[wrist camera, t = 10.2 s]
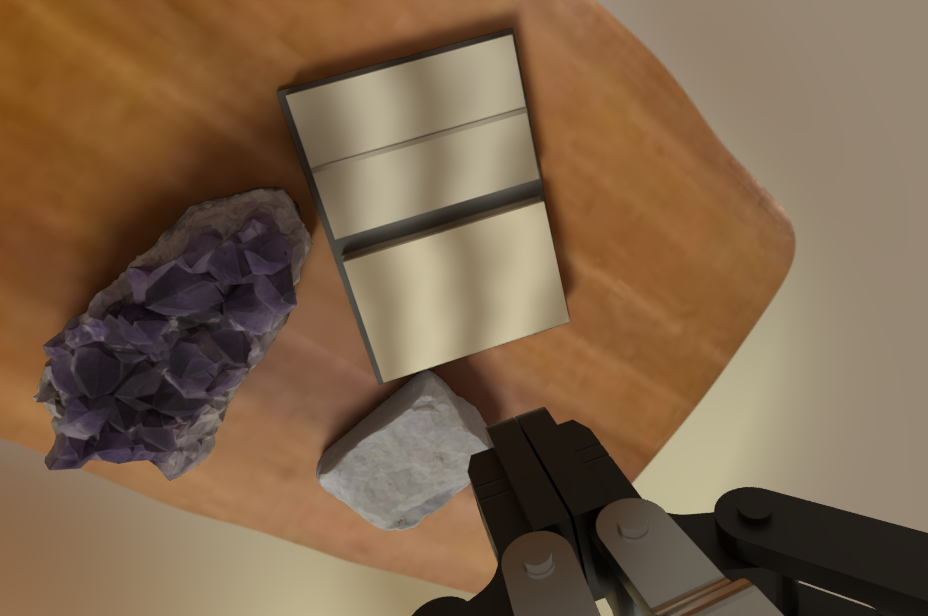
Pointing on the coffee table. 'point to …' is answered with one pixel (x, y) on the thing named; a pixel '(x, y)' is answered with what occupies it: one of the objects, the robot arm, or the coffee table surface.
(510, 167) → the laid floor
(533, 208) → the beige flat rectangular panel
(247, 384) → the coffee table surface
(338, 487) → the stone block
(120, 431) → the geode
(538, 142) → the coffee table surface
